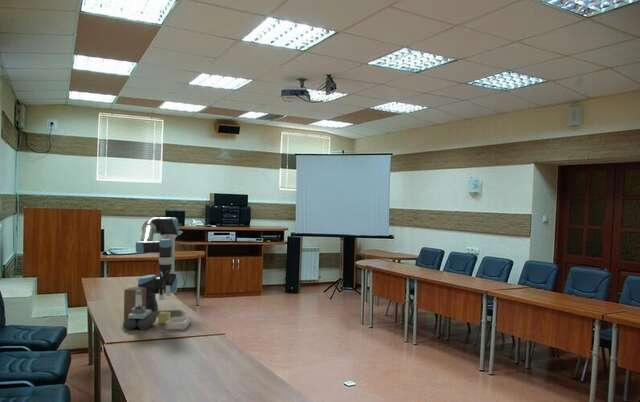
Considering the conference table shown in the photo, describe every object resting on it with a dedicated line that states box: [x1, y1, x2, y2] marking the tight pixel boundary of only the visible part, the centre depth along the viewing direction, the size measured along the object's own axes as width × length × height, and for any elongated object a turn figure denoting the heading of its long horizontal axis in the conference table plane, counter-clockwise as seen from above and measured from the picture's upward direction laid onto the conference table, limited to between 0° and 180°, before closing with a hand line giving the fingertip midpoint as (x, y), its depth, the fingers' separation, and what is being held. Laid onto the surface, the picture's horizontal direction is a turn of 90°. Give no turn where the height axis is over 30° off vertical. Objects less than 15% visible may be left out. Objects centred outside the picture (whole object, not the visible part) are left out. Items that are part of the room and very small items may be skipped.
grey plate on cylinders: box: [123, 307, 157, 331], centre depth 285 cm, size 14×15×12 cm
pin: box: [135, 290, 142, 309], centre depth 285 cm, size 4×4×13 cm
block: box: [123, 286, 146, 322], centre depth 301 cm, size 10×10×20 cm
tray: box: [164, 316, 191, 331], centre depth 288 cm, size 15×12×4 cm
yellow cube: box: [157, 311, 171, 324], centre depth 297 cm, size 5×6×6 cm
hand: (164, 297), depth 297 cm, fingers open, 13 cm apart
